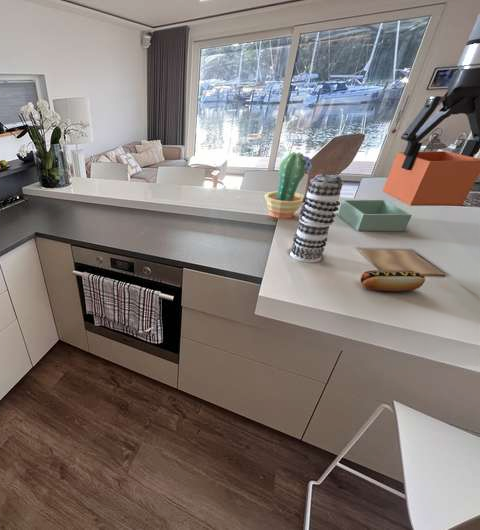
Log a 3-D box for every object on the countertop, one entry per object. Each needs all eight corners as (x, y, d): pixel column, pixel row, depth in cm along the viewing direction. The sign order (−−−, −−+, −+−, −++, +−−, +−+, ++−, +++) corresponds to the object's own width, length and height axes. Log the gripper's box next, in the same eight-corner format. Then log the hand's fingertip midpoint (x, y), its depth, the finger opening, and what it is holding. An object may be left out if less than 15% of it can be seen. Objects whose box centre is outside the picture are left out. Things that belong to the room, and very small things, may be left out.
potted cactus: (283, 224, 113) (298, 158, 100) (252, 213, 125) (263, 153, 113) (310, 216, 118) (328, 152, 105) (278, 206, 130) (291, 147, 118)
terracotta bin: (426, 191, 83) (445, 150, 77) (462, 205, 72) (487, 160, 66) (382, 191, 85) (397, 152, 80) (410, 205, 74) (430, 161, 69)
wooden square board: (410, 252, 88) (411, 250, 88) (444, 276, 77) (445, 274, 76) (358, 250, 91) (359, 249, 91) (383, 273, 80) (384, 272, 79)
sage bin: (378, 216, 113) (384, 199, 110) (403, 232, 100) (412, 214, 96) (337, 215, 116) (342, 200, 113) (357, 232, 103) (363, 214, 99)
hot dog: (424, 295, 71) (434, 278, 68) (364, 294, 73) (371, 278, 70) (409, 284, 75) (418, 268, 72) (353, 283, 77) (360, 267, 74)
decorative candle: (282, 253, 93) (300, 175, 81) (302, 247, 96) (324, 170, 83) (307, 265, 86) (332, 182, 73) (329, 258, 89) (357, 176, 76)
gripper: (530, 62, 64) (476, 164, 75) (406, 73, 69) (372, 166, 80) (567, 59, 58) (502, 170, 69) (428, 71, 63) (388, 172, 74)
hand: (432, 168), depth 75 cm, fingers closed on terracotta bin, 11 cm apart
